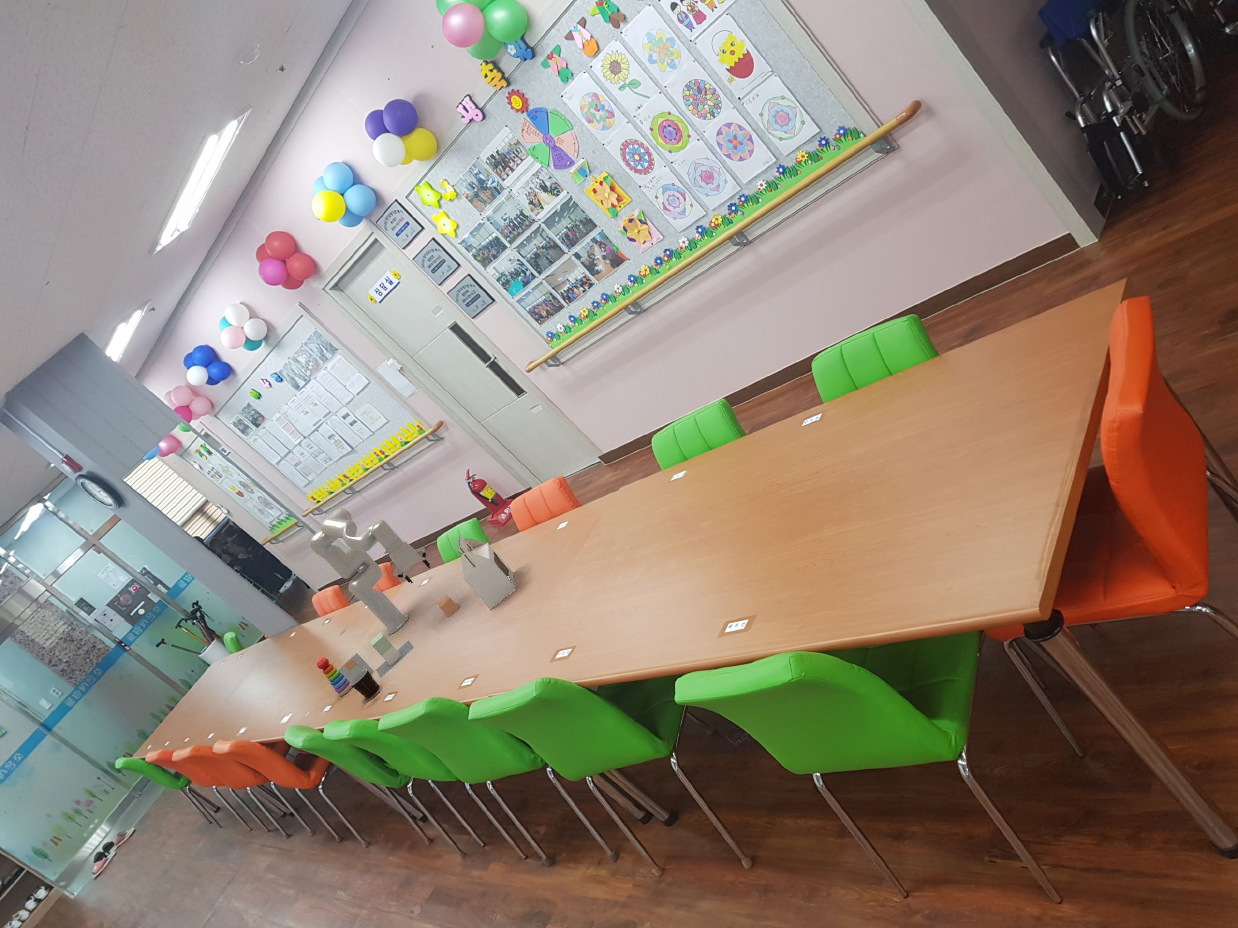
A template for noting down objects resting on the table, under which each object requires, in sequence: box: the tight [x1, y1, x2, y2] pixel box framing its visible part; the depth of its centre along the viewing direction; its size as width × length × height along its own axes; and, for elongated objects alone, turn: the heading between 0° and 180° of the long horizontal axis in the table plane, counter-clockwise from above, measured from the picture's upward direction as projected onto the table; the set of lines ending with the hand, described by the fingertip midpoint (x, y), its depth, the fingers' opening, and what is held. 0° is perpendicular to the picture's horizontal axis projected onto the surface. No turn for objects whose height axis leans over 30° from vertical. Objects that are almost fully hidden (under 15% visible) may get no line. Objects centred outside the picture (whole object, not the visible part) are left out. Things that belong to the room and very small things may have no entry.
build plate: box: [375, 640, 415, 679], centre depth 352 cm, size 14×18×1 cm
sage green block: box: [369, 631, 394, 657], centre depth 349 cm, size 8×6×6 cm
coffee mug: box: [350, 669, 381, 701], centre depth 332 cm, size 12×9×10 cm
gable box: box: [457, 535, 517, 610], centre depth 338 cm, size 22×13×28 cm, turn 13°
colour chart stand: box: [337, 652, 375, 683], centre depth 353 cm, size 4×10×12 cm, turn 120°
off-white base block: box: [381, 645, 402, 666], centre depth 351 cm, size 8×6×6 cm
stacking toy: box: [316, 657, 353, 697], centre depth 359 cm, size 8×8×19 cm
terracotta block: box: [436, 594, 460, 618], centre depth 361 cm, size 8×6×6 cm
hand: (420, 574), depth 356 cm, fingers open, 9 cm apart
